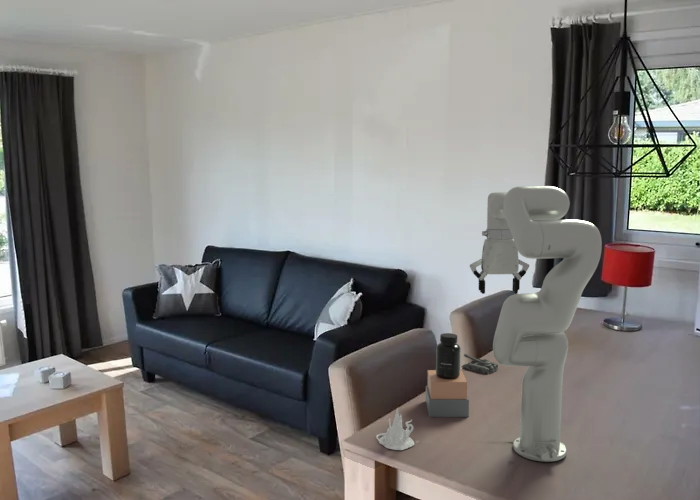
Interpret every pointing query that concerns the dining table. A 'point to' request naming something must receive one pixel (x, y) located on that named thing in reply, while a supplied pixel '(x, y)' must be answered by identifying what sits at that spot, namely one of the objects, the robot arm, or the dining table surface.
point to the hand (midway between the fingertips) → (498, 292)
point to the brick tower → (447, 396)
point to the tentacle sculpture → (397, 435)
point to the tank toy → (480, 365)
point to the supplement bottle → (448, 357)
